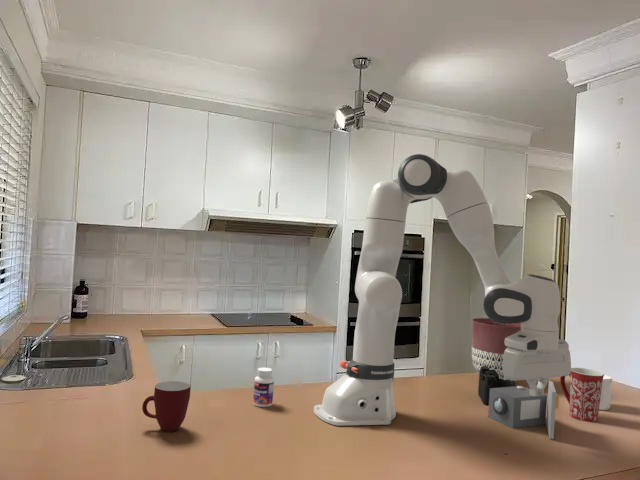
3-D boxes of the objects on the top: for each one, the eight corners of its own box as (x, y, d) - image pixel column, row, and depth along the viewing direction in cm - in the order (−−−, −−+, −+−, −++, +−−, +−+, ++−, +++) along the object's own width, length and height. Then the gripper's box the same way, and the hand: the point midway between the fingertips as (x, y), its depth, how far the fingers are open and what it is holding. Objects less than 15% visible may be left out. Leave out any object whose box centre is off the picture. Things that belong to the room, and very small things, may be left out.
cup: (603, 412, 154) (605, 380, 154) (569, 403, 162) (571, 372, 162) (615, 407, 161) (617, 376, 161) (582, 399, 168) (583, 369, 168)
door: (556, 439, 128) (559, 392, 128) (549, 438, 128) (552, 391, 128) (552, 424, 140) (555, 381, 140) (546, 423, 140) (548, 380, 140)
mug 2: (608, 421, 146) (611, 374, 146) (586, 424, 142) (589, 375, 142) (571, 407, 157) (573, 363, 158) (549, 409, 154) (552, 364, 154)
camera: (518, 410, 152) (520, 376, 152) (481, 405, 154) (483, 372, 154) (509, 396, 166) (511, 366, 166) (475, 393, 167) (477, 362, 168)
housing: (509, 428, 134) (511, 395, 135) (485, 417, 143) (487, 386, 143) (545, 424, 140) (547, 392, 140) (519, 413, 148) (521, 383, 148)
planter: (471, 385, 176) (475, 323, 176) (465, 372, 195) (468, 316, 195) (531, 392, 173) (535, 328, 173) (518, 378, 192) (522, 321, 192)
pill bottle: (249, 405, 140) (251, 369, 140) (258, 400, 145) (261, 365, 145) (266, 408, 138) (269, 372, 138) (275, 403, 143) (278, 368, 143)
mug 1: (138, 436, 114) (142, 391, 114) (142, 423, 121) (145, 381, 121) (187, 434, 116) (190, 390, 116) (187, 422, 124) (190, 381, 124)
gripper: (557, 336, 135) (555, 388, 135) (499, 339, 127) (496, 394, 126) (578, 341, 129) (576, 395, 129) (519, 344, 121) (516, 402, 121)
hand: (536, 395), depth 128 cm, fingers closed
